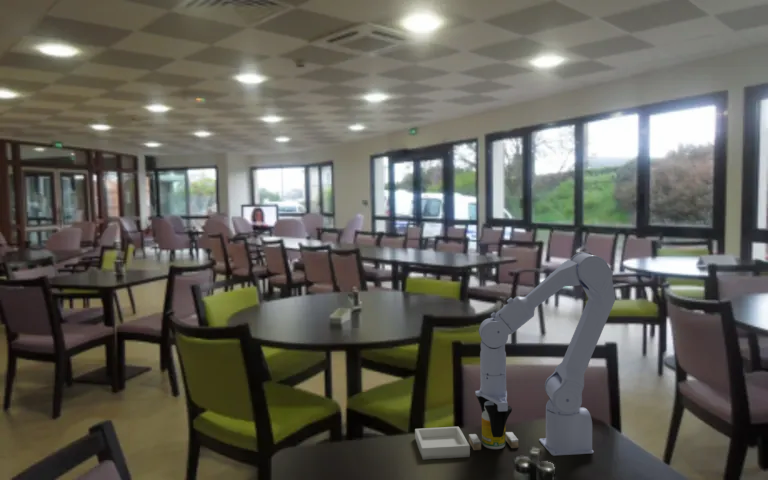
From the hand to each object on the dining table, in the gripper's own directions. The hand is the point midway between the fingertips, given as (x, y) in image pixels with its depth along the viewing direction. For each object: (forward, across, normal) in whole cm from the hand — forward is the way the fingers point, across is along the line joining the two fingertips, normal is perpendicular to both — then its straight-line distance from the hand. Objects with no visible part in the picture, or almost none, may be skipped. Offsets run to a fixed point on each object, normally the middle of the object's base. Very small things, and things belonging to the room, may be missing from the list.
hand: (493, 431), depth 123 cm
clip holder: (+3, 0, 0) cm, 3 cm away
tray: (+3, 0, -12) cm, 12 cm away
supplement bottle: (+3, 0, 0) cm, 3 cm away
